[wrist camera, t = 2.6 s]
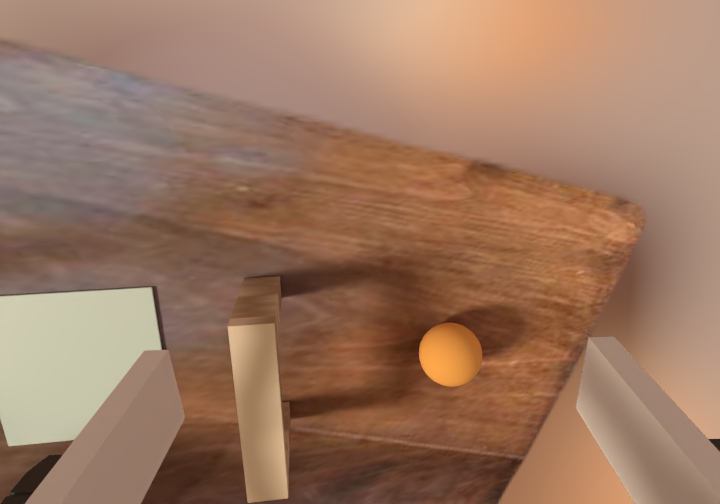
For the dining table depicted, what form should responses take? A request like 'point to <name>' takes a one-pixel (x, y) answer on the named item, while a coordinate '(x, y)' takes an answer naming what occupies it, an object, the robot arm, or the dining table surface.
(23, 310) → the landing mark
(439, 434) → the dining table surface
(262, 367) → the bridge
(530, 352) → the dining table surface
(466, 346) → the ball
